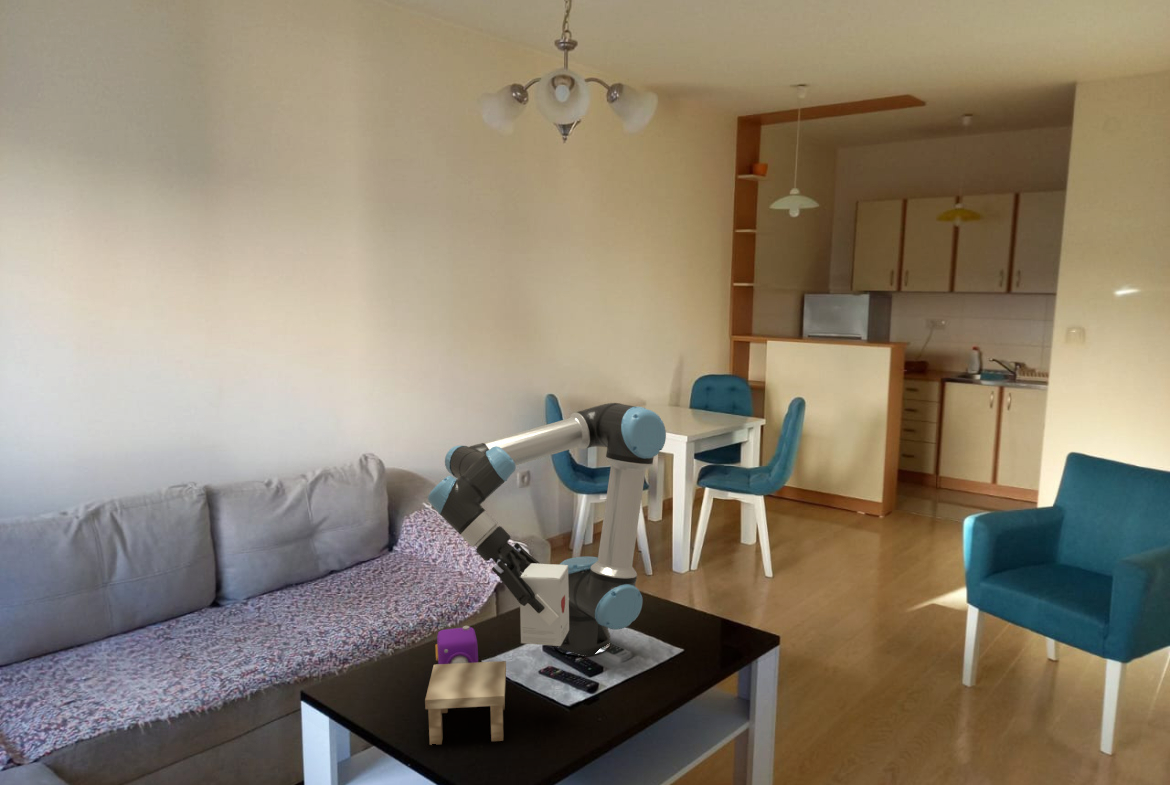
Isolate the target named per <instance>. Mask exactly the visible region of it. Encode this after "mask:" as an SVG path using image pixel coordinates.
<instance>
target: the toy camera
mask: <svg viewBox="0 0 1170 785" xmlns="http://www.w3.org/2000/svg"><path fill="white" fill-rule="evenodd" d="M434 648H435V661H437V662H438V663H437V664H456V663H476V662H479V653H478V652H479V651H478V649H479V648H478V640H477V635H476V631H475V628H473V627H471V626H470V625H464V626H462V627H456V628H447V629H446V628H445V629H442V630H440V631H438V632H437V636H436V644H435V647H434Z"/></svg>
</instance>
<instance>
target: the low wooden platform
mask: <svg viewBox="0 0 1170 785" xmlns="http://www.w3.org/2000/svg"><path fill="white" fill-rule="evenodd" d="M506 678H507V661H506V660H502V661H497V660H496V661H482V662H480V661H478V662H476V663H456V664H438V663H437V664H433V667H432V671H431V675H430V679H429V683H428V687H427V692H426V696H425V699H424V705H425V710H427V711H428V712H427V713H428V730H429V732H428V736H429V745H430V746H433V745H432V744H436V745H443V738H444V737H443V736H444V734H443V714H447V713H448V712H449V709H456V708H458V709H459V708H477V707H490V710H489V711H490V735H491V736H490V737H491V739H490V740H491V742H501V741H502V742H503V741H504V711H505V709H506V708H505V707H506V705H505V704H506V701H505V700H506V684H507V683H506V681H507V680H506Z"/></svg>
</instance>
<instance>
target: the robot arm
mask: <svg viewBox="0 0 1170 785" xmlns="http://www.w3.org/2000/svg"><path fill="white" fill-rule="evenodd" d="M666 439H667V430H666V427H665V424H664V421H663V420H662V418H661V417H660V415H658V414H657V412H655V411H653V410H651V409H647V408H645V407H643V406H637V405H636V406H635V405H629V404H624V403H619V402H609V403H604V404H600V405H595V406H592V407H589V408H586V409H582V410H579V411H576V412H573V413H571V414H570V416H569V418H565V419H562V420H558V421H556V422H552V423H548V424H544V425H541V426H537V427H534V428H531V429H527V430H524V431H520V432H516V433H513V434H509V435H506V436H503V437H499V438H494V439H492V440H489V441H484V442H481V443H477V444H474V445H470V446H467V445H456V446H453V447H452V448H450V449H449V450H448V451H447V453H446V455H445V457H444V467H445V468H446V471H447V472H448V473H449V474H450V475H447V476H446V477H444V478H443V479H442V480H441V481H440V482H439V483H437V485H436V486H434V487H433V489H432V490H431V491H430V492H429V493H428V496H427V501H428V502H429V503H430V505H431V506H432V507H433V508H434V509H435V511H436V512H437V513H438V514H439V515H440V516H441V517H442V518H443V520H445V521H446V522H447V523H448V524H449V525H450V526H451V527H452V528H453V530H454V531H456V532H457V533H458V534H459V535H460V536H461V537H462V538H463V542H467V544H469V546H471V547H472V548H475V551H476V553H477V554H478V555H479V556H480V558H482V559H483V560H484V562H489V560H491V559H492V560H493V562H494V566H492V568H491V571H492V572H493V573H494V574H496V575H497V576H498V577H499V579H500V580H501V581H502V582H503V584H504V585H505V587H506V588H507V589H508V590H509V592H510V593H511V594H512V596H513V597H514V598H515V599H516V601H517V602H518V603H519V605H520V604H521V605H523V606H525V605H526V604H527V603H528V604H529V605H530V606H531V607H532V608H533V609H534V610H535V611H536V612H537V613H538V614H539V615H540V616H541V617H542V618H543V619H544V620H545V622H546V623H547V624H548V625H549V626H550V625H551V624H552V623H553V622H554V621H555V620H556V619H557V618H558V617H559V616H558V614H557V613H556V612H555V611H554V610H553V609H552V608H551V607H550V606H549V605H548V604H547V603H546V602H545V601H544V600H543V599H542V598H541V597H540V596H539V595H538V594H536V595H535V594H534V592H533V591H532V589H531V588H530V586H529V585H528V584H527V583H526V582H525V581H524V580H523V579H522V578H521V577H520V576H521V575H522V573H523V572H524V570H525V569H526V568H527V567H528V566H529V565H530V564H531V563H537V564H541V563H540V562H539V561H538V560H537V559H536V558H535V557H533V556H532V555H531V554H530V553H529V552H527V550H525V549H524V548H523V547H522V545H520V543H518V542H516V543H515V544H514V545H511V544H510V543H508V542H509V541H510V540H511V538H512V537H511V535H510V534H509V533H508V531H507V530H505V529H504V528H503V527H502V526H498V521H496V519H495V518H494V517H493V516H492V515H491V514H490V513H489V512H488V511H487V510H486V509H485V508H483V506H482V505H481V504H483V503H484V502H485V501H486V500H487V499H488V498H489V497H491V495H492V494H493V493H494V492H495V491H496V490H497V489H499V488H500V487H501V486H502V485H503V484H504V483H505V482H507V481H508V479H509V478H510V477H511V476H512V475H513V473H515V471H516V467H517V466H519V465H522V464H525V463H529V462H532V461H536V460H539V459H542V458H545V457H549V456H552V455H555V454H559V453H562V452H565V451H569V450H572V449H576V448H579V449H580V450H586V449H589V448H594V447H601V448H602V447H603V448H606V453H605V454H606V455H605V458H606V460H607V462H608V464H609V465H610V469H609V470H610V471H609V478H608V484H607V492H606V498H605V499H606V500H605V505H604V506H605V507H604V514H603V521H602V528H601V535H600V542H599V549H598V555H597V556H577V557H576V556H575V557H572V558H571V557H570V558H567V559H564V560H563V561H561V562H560V563H559V565H568V588H569V631H568V633H567V635H566V637H565V639H564V640H563V642H562V644H561V646H558V647H560V648H562V649H564V650H567V651H570V652H574V653H577V654H580V655H584V656H583V657H591V655H592V656H595V655H594V654H595V653H596V652H597V651H598V650H599V649H600V648H602V647H604V646H606V645H607V644H609V643H610V644H611V634H610V631H609V629H610V630H614V631H615V630H616V631H617V630H618V631H619V630H623V629H626V628H627V627H629V626H630V625H631V624H632V623H633V622H634V621H635V620H636V619H637V618H638V617H639V615H640V613H641V611H642V608H643V596H642V593H641V592H640V590H639V588H638V587H636V585H637V577H638V573H637V571H636V569H635V568H634V567H633V562H634V554H635V547H636V540H637V534H638V533H637V532H638V526H639V519H640V511H641V506H642V505H641V504H642V499H643V498H642V497H643V491H644V483H645V478H646V471H647V470H648V469H649V468H651V466H653V464H654V457H657V455H658V454H660V451H662V450H663V448H664V446H665V443H666ZM585 655H586V656H585Z"/></svg>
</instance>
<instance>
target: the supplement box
mask: <svg viewBox="0 0 1170 785" xmlns="http://www.w3.org/2000/svg"><path fill="white" fill-rule="evenodd" d="M521 573H522V572H521ZM520 577H521V578H522V579H523V580H524V581H525V582H526V583H527V584H528V585H529V586H530V588H531V589H532V591H533V592H534V594H535V595H536V594H538V595H539V596H540V597H541V598H542V599H543V600H544V601H545V602H546V603H547V604H548V605H549V606H550V607H551V608H552V609H553V610H554V611H555V612H556V613H557V614H558V616H559V617H558V618H557V619H556V620H555V621H554V622H553V623H552V624H551V625H550V626H549V625H548V624H547V623H546V622H545V620H544V619H543V618H542V617H541V616H540V615H539V614H538V613H537V612H536V611H535V610H534V609H533V608H532V607H531V606H530V605H529V604H528V603H527V604H526V605H525V606H523V605H521V604H520V603H519V609H520V612H519V614H520V618H519V620H520V644H525V645H526V644H528V645H540V646H541V645H542V646H561V644H562V642H563V640H564V639H565V637H566V635H567V633H568V631H569V588H568V565H560V564H552V563H550V564H549V563H540V564H537V563H531V564H530V565H529V566H528V567H527V568H526V569H525V570H524V572H523V573H522V575H521V576H520Z"/></svg>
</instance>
